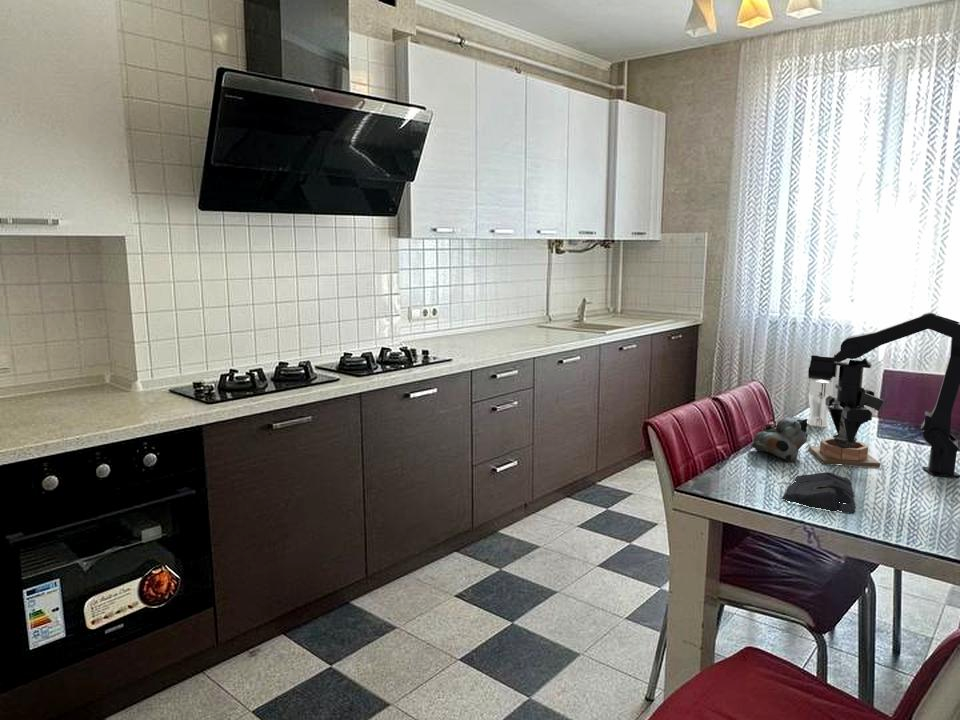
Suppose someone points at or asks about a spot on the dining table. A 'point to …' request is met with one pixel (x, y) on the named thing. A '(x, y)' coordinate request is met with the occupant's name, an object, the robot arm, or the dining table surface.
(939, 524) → the dining table surface
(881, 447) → the dining table surface
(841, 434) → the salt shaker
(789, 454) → the lucky cat figurine
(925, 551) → the dining table surface
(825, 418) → the beer glass
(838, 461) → the collar board
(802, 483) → the dark slate chunk
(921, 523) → the dining table surface
